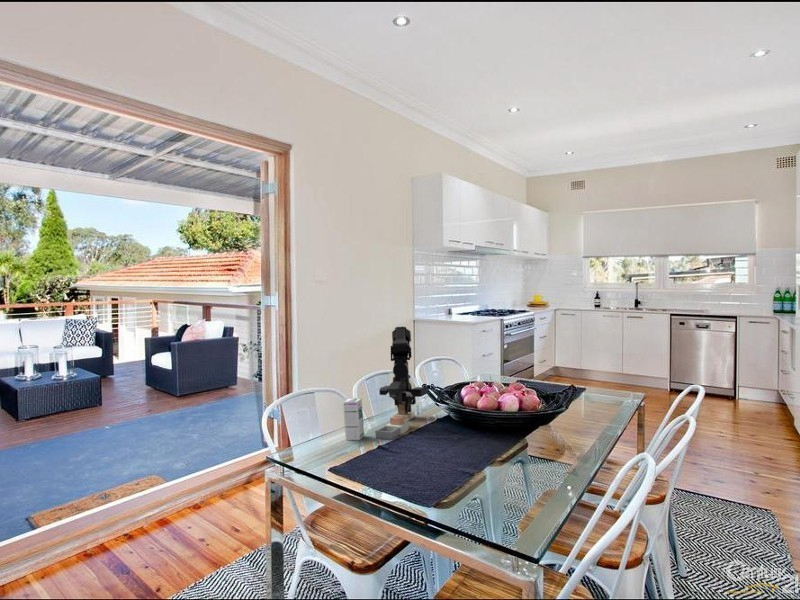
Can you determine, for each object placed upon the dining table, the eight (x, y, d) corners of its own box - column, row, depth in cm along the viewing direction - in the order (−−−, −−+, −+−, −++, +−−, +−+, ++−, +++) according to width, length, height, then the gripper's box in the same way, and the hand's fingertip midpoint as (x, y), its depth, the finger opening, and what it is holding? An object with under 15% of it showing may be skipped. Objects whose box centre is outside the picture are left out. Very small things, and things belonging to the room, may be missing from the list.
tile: (395, 421, 189) (394, 415, 189) (404, 422, 188) (403, 416, 188) (390, 424, 186) (390, 418, 186) (399, 425, 184) (399, 418, 184)
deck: (393, 428, 191) (393, 421, 191) (409, 429, 188) (408, 422, 188) (384, 433, 185) (384, 425, 185) (400, 434, 182) (400, 426, 182)
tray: (384, 433, 185) (384, 426, 185) (400, 434, 181) (400, 427, 181) (375, 438, 179) (375, 430, 179) (392, 440, 175) (391, 432, 175)
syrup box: (360, 440, 177) (358, 401, 177) (345, 440, 178) (342, 401, 178) (364, 435, 183) (362, 398, 183) (349, 435, 184) (347, 398, 184)
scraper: (400, 416, 196) (400, 401, 196) (413, 417, 193) (413, 402, 193) (393, 420, 190) (393, 405, 190) (407, 421, 188) (406, 406, 188)
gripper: (371, 376, 189) (373, 415, 189) (413, 377, 180) (415, 419, 180) (385, 372, 199) (387, 409, 199) (425, 373, 190) (428, 412, 190)
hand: (403, 412), depth 192 cm, fingers closed on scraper, 2 cm apart
